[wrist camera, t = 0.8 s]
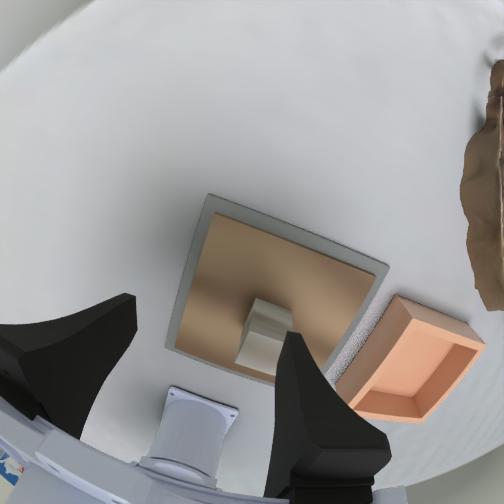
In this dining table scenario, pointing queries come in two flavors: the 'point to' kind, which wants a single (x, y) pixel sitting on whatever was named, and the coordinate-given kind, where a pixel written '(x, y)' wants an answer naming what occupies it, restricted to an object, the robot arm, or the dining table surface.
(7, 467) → the milk carton
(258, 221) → the mat
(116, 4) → the dining table surface
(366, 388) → the pink shallow tray
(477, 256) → the food dish
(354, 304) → the lid
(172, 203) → the dining table surface
